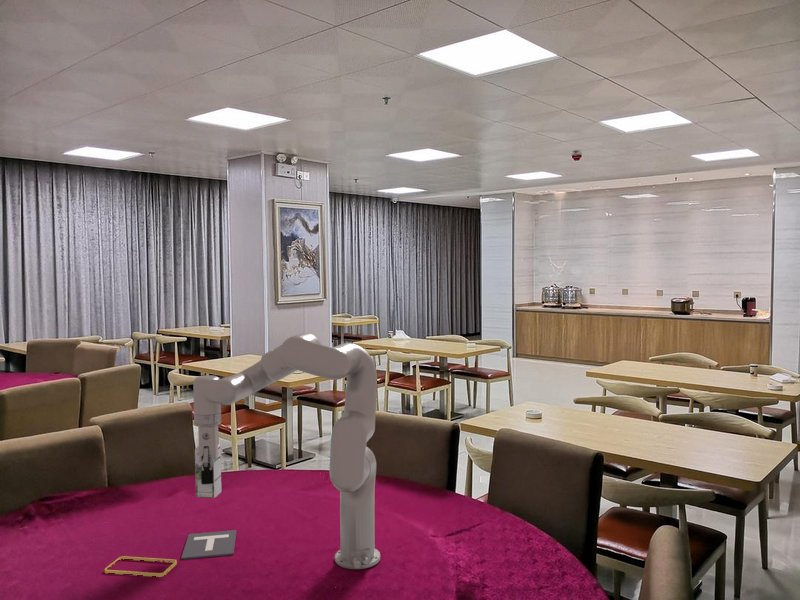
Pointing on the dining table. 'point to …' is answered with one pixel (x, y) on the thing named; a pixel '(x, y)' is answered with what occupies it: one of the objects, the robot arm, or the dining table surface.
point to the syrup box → (215, 487)
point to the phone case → (142, 572)
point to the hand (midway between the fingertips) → (208, 478)
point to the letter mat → (209, 544)
